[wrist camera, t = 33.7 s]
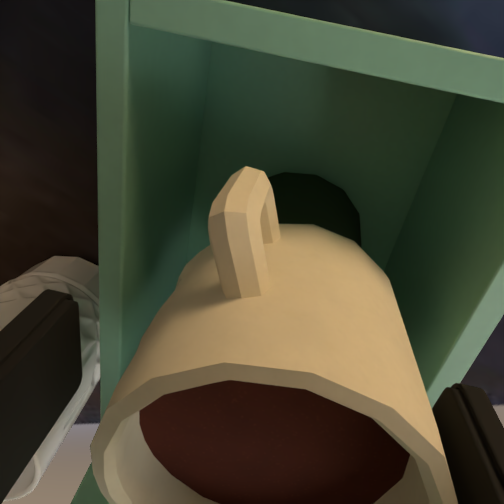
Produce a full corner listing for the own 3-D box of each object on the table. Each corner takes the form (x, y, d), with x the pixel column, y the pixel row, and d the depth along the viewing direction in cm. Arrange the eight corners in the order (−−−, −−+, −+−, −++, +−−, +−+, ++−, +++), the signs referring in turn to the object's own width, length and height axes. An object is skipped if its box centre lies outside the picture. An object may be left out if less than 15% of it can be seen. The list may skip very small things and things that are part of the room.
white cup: (165, 315, 24) (77, 470, 15) (90, 366, 27) (-20, 519, 18) (68, 220, 21) (-104, 336, 13) (-2, 287, 25) (-178, 418, 16)
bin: (201, 12, 16) (93, -28, 8) (480, 71, 15) (649, 88, 8) (170, 321, 24) (100, 450, 16) (353, 366, 23) (372, 522, 15)
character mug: (199, 128, 17) (-30, 275, 6) (362, 99, 16) (489, 222, 4) (245, 322, 22) (168, 615, 10) (374, 315, 20) (449, 648, 9)
